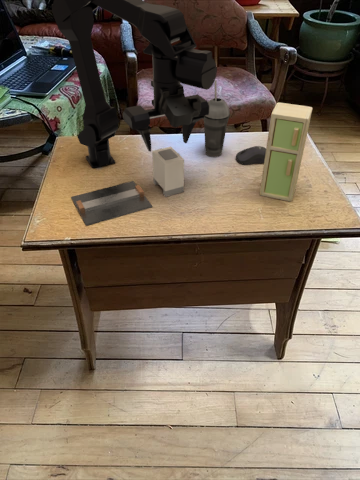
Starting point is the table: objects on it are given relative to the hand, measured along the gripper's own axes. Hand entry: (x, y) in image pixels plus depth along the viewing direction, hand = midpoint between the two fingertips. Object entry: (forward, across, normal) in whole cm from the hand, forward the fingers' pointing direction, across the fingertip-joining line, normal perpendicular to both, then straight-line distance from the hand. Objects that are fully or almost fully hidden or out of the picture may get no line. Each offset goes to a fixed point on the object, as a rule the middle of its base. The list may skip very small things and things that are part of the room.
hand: (167, 146), depth 95 cm
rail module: (+11, 0, 0) cm, 11 cm away
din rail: (+11, -15, 0) cm, 19 cm away
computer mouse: (+12, +27, +2) cm, 29 cm away
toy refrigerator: (+11, +23, -14) cm, 29 cm away
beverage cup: (+11, +19, +10) cm, 24 cm away
